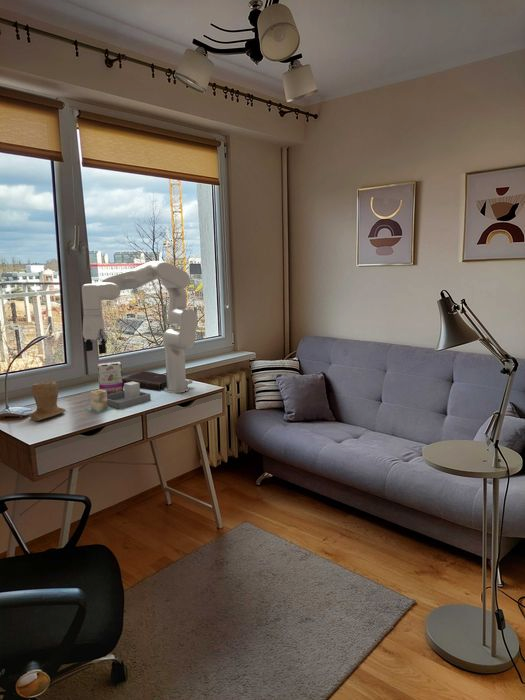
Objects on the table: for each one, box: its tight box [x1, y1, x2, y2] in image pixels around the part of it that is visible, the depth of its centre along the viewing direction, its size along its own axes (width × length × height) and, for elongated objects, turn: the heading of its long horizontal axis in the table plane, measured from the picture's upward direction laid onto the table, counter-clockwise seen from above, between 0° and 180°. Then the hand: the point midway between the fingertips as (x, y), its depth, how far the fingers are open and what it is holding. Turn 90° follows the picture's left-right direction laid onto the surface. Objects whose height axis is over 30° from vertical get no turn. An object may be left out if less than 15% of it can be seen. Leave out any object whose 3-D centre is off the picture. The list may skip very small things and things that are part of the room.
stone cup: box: [28, 381, 67, 422], centre depth 212 cm, size 15×12×15 cm
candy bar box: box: [96, 361, 124, 395], centre depth 242 cm, size 11×5×16 cm, turn 112°
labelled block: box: [89, 388, 109, 411], centre depth 220 cm, size 5×5×8 cm
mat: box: [84, 406, 114, 415], centre depth 221 cm, size 8×10×1 cm
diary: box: [122, 370, 167, 392], centre depth 263 cm, size 19×25×5 cm
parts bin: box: [107, 390, 152, 410], centre depth 232 cm, size 18×15×4 cm
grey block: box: [123, 381, 141, 400], centre depth 234 cm, size 5×5×8 cm
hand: (95, 352), depth 217 cm, fingers open, 9 cm apart
